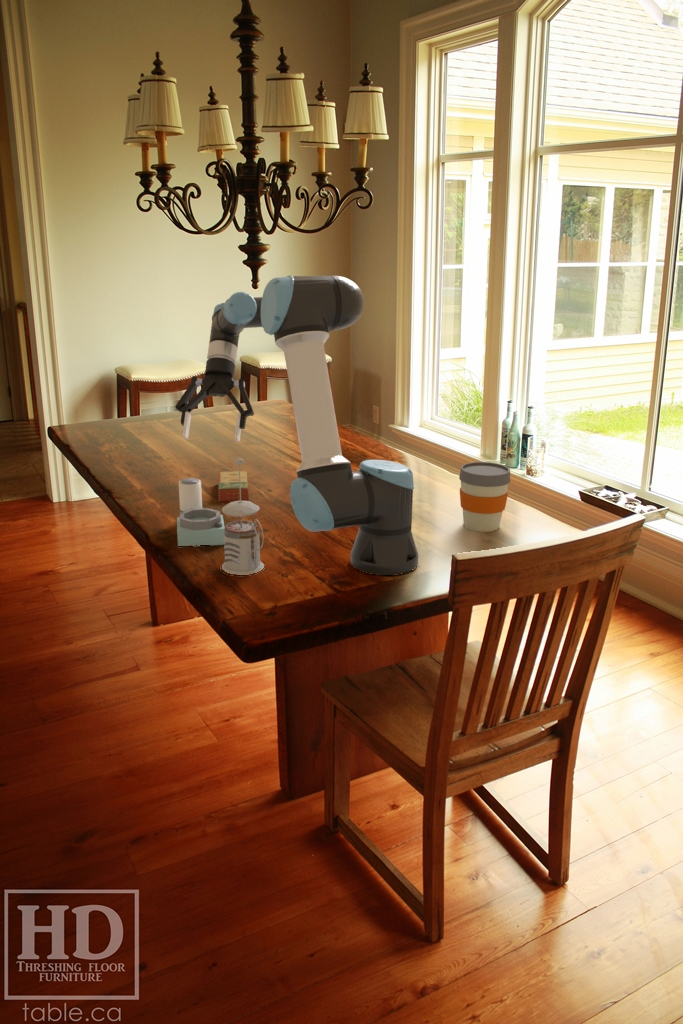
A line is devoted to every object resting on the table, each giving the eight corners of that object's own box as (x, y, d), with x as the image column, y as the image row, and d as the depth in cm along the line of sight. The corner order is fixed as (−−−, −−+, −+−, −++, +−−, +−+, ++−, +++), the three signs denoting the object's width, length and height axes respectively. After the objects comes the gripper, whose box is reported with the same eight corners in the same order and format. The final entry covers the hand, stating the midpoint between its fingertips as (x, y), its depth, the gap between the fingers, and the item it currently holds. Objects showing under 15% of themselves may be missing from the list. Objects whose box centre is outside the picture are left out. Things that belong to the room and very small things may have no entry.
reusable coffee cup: (486, 514, 221) (490, 459, 216) (516, 529, 210) (521, 472, 205) (446, 521, 215) (449, 465, 210) (475, 537, 205) (479, 478, 200)
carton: (247, 484, 245) (247, 470, 243) (249, 502, 230) (249, 487, 228) (218, 485, 244) (218, 471, 242) (218, 503, 229) (218, 488, 227)
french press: (247, 555, 193) (243, 449, 184) (279, 570, 185) (277, 460, 176) (211, 566, 186) (206, 457, 178) (243, 582, 178) (239, 469, 170)
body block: (225, 544, 199) (224, 520, 197) (178, 547, 197) (176, 523, 195) (223, 529, 208) (222, 507, 206) (177, 532, 206) (176, 509, 204)
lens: (203, 526, 210) (201, 483, 206) (180, 528, 209) (178, 484, 205) (203, 519, 215) (201, 476, 212) (180, 520, 214) (178, 477, 211)
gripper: (270, 369, 222) (261, 446, 217) (178, 365, 225) (168, 440, 220) (265, 358, 215) (255, 436, 210) (170, 353, 218) (159, 431, 213)
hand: (210, 439), depth 215 cm, fingers open, 13 cm apart
